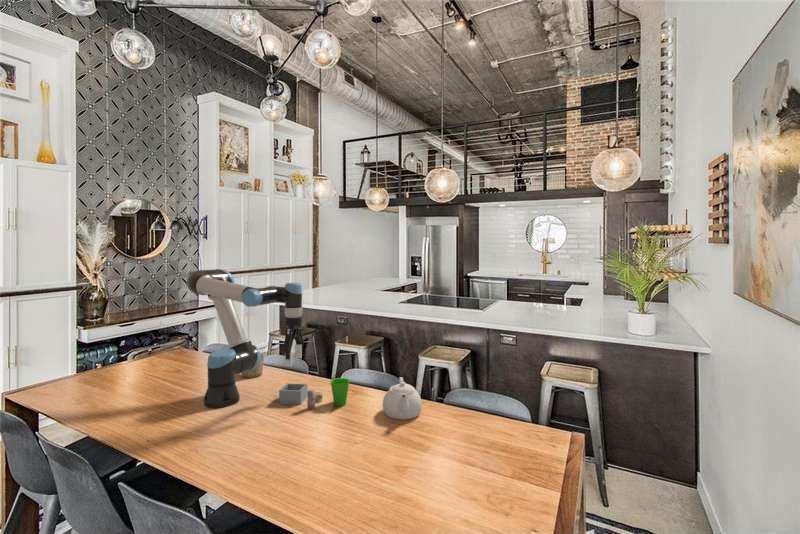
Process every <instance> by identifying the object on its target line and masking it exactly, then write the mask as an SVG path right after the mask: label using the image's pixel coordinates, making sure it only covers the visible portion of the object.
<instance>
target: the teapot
mask: <svg viewBox="0 0 800 534" xmlns="http://www.w3.org/2000/svg"><path fill="white" fill-rule="evenodd" d="M398 380H399V383H397V384H394V385H392V386H391V387H390V388H389V389H388V390H387V392H386V393H385V395H384V397H383V400H382V411H383V413H384V414H385V416H387V417H388V418H391V419H395V420H400V421H401V420H411V419H414V418H415V419H416V418H417V417H418V416H419V415H420V414H421V412H422V408H423V407H422V406H423V403H422V399H421V395H420V394H419V393H418V391H417V390H416V388H415V387H414V386H412V385H411V384H408V383H406V382H405V381H404V377H401V376H400V377H399V379H398Z"/></svg>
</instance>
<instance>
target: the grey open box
mask: <svg viewBox="0 0 800 534" xmlns="http://www.w3.org/2000/svg"><path fill="white" fill-rule="evenodd" d="M308 389H309V388H308V383H293V382H291V383H290V382H288V383H285V385H283V386H282V387H281V388H280V389H279V390H278V391H279V392H278V395H279V397H278V401H279V402H278V404H279V405H280V404H283V405H302V404H303V403H304V402H305V400H306V399H308V391H309V390H308Z"/></svg>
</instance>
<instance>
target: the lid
mask: <svg viewBox="0 0 800 534" xmlns="http://www.w3.org/2000/svg"><path fill="white" fill-rule="evenodd" d="M315 393H316V390H314V389H309V390H308V397H307V410H308V411H313V410H315V409H316V402H315Z"/></svg>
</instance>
